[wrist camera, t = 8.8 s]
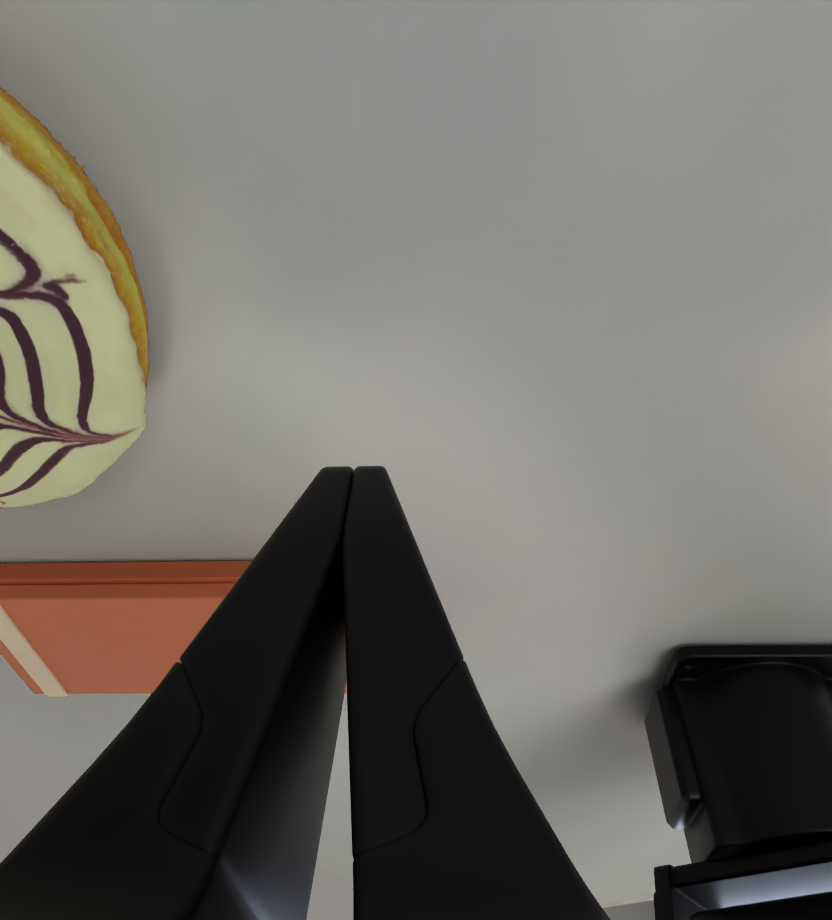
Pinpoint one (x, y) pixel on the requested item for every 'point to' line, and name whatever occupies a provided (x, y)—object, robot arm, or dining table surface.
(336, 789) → the dining table surface
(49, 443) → the decorated donut
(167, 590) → the orange flat bar
